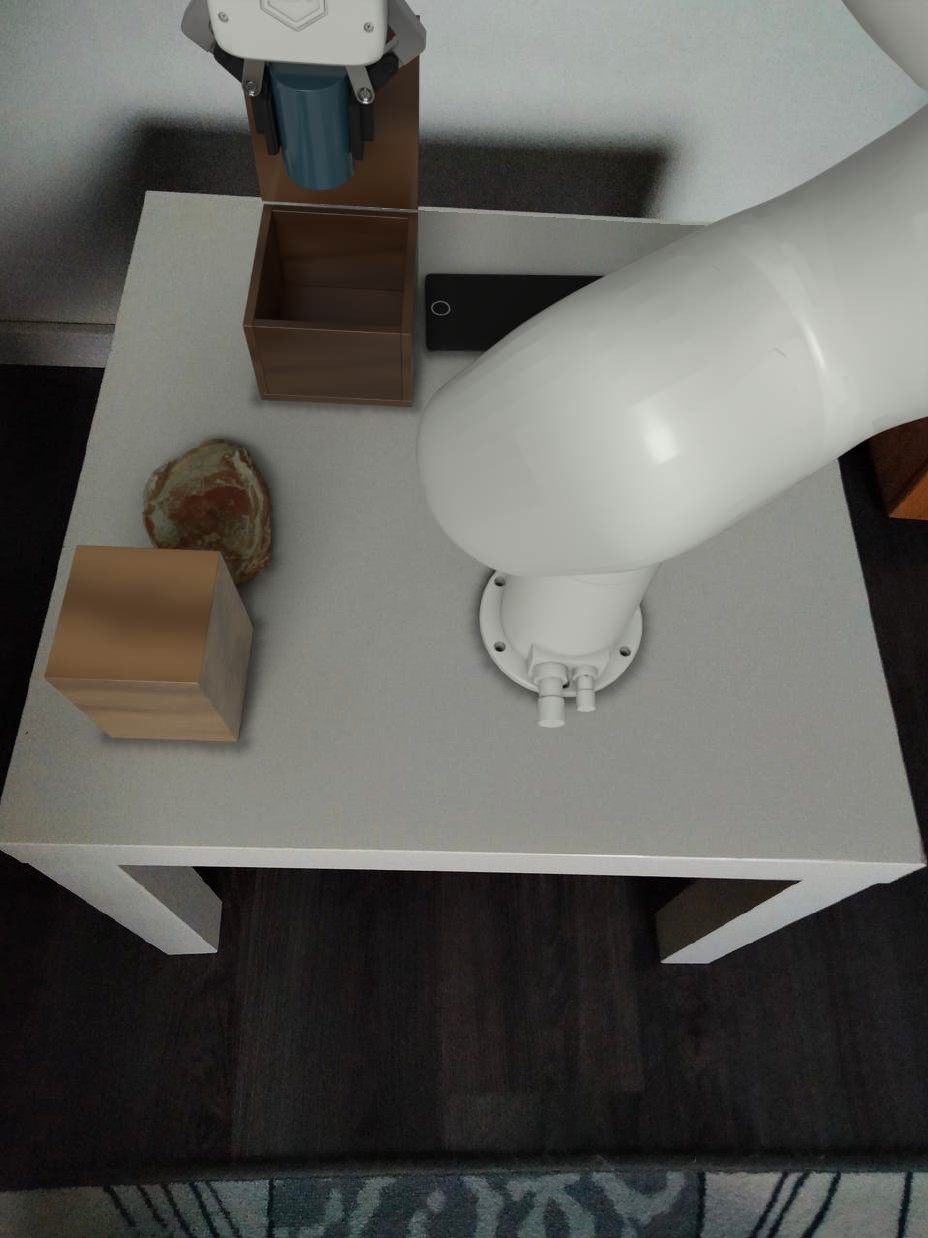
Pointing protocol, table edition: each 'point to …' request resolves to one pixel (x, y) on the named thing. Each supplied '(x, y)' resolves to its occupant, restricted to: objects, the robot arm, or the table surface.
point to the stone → (212, 507)
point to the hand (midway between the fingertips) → (317, 141)
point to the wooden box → (334, 305)
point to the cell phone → (488, 305)
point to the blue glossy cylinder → (313, 123)
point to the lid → (386, 159)
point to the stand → (153, 643)
